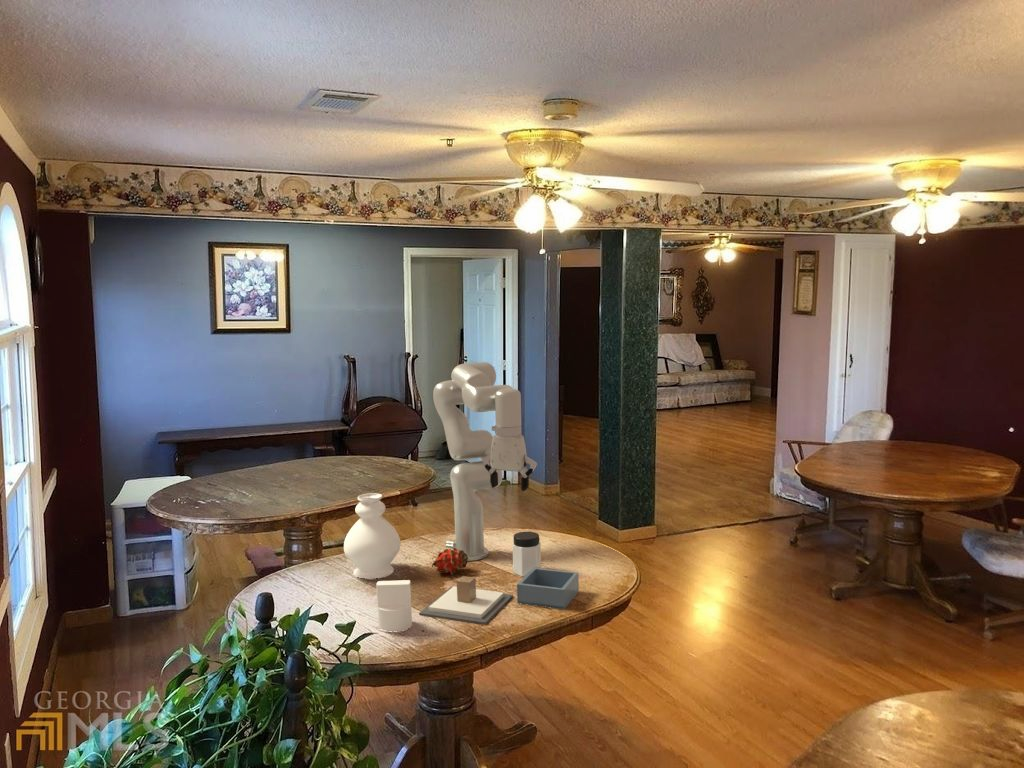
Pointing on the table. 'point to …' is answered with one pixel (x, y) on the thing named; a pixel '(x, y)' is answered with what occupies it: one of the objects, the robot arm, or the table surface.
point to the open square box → (548, 588)
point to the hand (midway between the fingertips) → (509, 488)
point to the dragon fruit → (450, 561)
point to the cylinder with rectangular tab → (394, 605)
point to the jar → (526, 552)
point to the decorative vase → (371, 539)
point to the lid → (466, 600)
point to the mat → (483, 620)
